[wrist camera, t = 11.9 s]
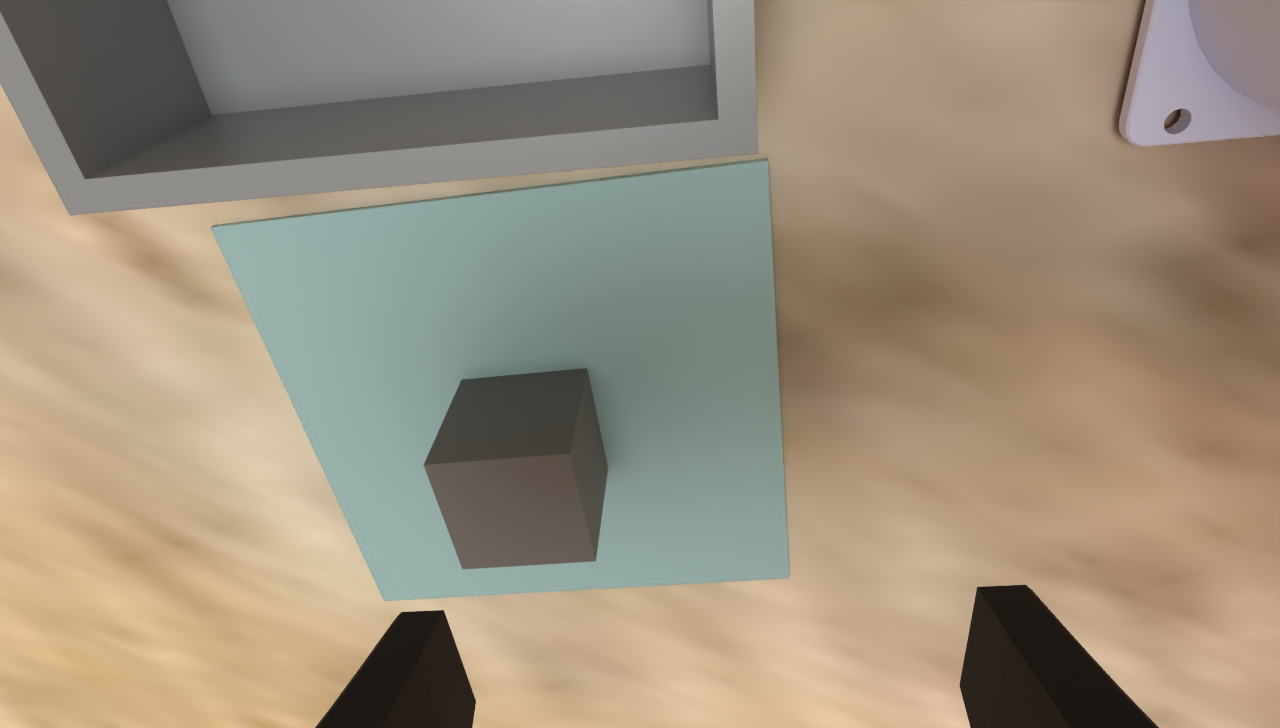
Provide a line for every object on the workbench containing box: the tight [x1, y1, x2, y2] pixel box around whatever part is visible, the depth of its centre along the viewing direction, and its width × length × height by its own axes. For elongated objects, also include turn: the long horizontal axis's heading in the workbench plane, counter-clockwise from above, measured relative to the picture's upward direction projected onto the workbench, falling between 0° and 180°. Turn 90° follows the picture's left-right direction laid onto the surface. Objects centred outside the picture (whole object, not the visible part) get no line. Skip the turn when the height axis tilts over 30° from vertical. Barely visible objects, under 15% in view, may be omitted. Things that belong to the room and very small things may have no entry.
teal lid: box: [211, 158, 789, 601], centre depth 20 cm, size 14×14×4 cm
